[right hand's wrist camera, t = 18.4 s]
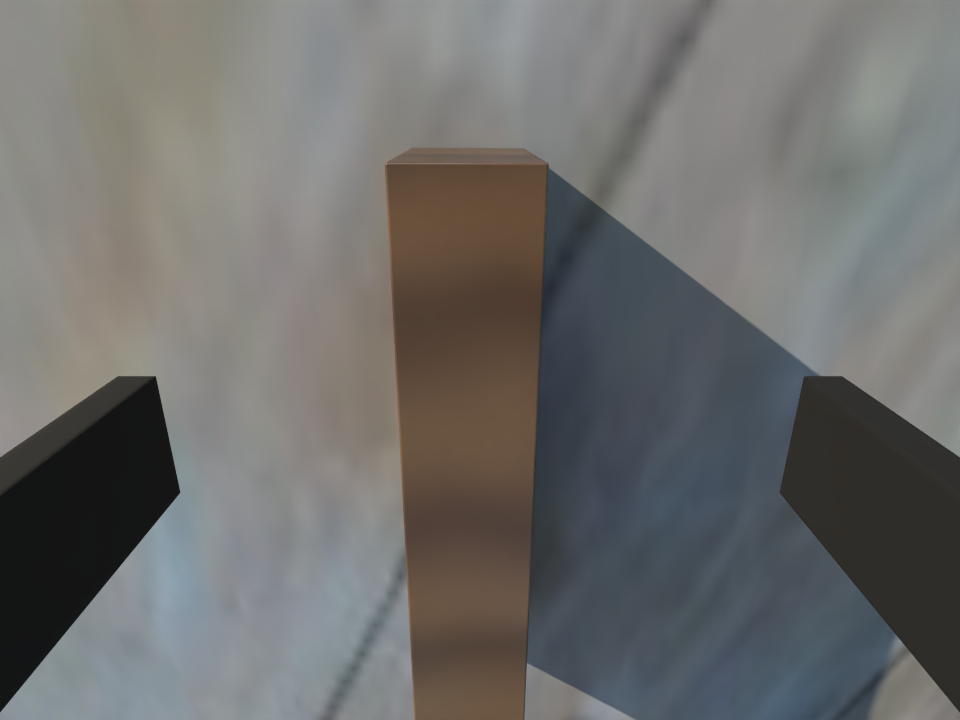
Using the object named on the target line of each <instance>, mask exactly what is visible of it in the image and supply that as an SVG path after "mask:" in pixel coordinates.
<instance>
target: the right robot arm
mask: <svg viewBox="0 0 960 720" xmlns="http://www.w3.org/2000/svg"><path fill="white" fill-rule="evenodd" d="M179 494H180V489H179V484H178V479H177V475H176V470H175V465H174V461H173V456H172V451H171V446H170V442H169V437H168V432H167V427H166V423H165V418H164V413H163V408H162V404H161V399H160V394H159V390H158V385H157V380H156V376H118V377H116V378H115V379H113V380H112V381H110V382H109V383H108V384H106V385H105V386H103V387H102V388H100V389H99V390H97V391H96V392H95V393H93V394H92V395H90V396H89V397H87V398H86V399H84V400H83V401H81V402H80V403H79V404H77V405H76V406H74V407H73V408H71V409H70V410H68V411H67V412H65V413H64V414H63V415H61V416H60V417H58V418H57V419H55V420H54V421H52V422H51V423H50V424H48V425H47V426H45V427H44V428H42V429H41V430H39V431H38V432H36V433H35V434H34V435H32V436H31V437H29V438H28V439H26V440H25V441H23V442H22V443H20V444H19V445H18V446H16V447H15V448H13V449H12V450H10V451H9V452H7V453H6V454H5V455H3V456H2V457H0V712H1V711H2V709H3V708H4V707H5V706H6V705H7V703H8V702H9V701H10V700H11V698H12V697H13V696H14V695H15V694H16V692H17V691H18V690H19V689H20V687H21V686H22V685H23V684H24V683H25V681H26V680H27V679H28V678H29V676H30V675H31V674H32V673H33V672H34V670H35V669H36V668H37V667H38V666H39V664H40V663H41V662H42V661H43V659H44V658H45V657H46V656H47V655H48V653H49V652H50V651H51V650H52V648H53V647H54V646H55V645H56V644H57V642H58V641H59V640H60V639H61V637H62V636H63V635H64V634H65V633H66V631H67V630H68V629H69V628H70V626H71V625H72V624H73V623H74V622H75V620H76V619H77V618H78V617H79V616H80V614H81V613H82V612H83V611H84V609H85V608H86V607H87V606H88V605H89V603H90V602H91V601H92V600H93V598H94V597H95V596H96V595H97V594H98V592H99V591H100V590H101V589H102V587H103V586H104V585H105V584H106V583H107V581H108V580H109V579H110V578H111V576H112V575H113V574H114V573H115V572H116V570H117V569H118V568H119V567H120V565H121V564H122V563H123V562H124V561H125V559H126V558H127V557H128V556H129V555H130V553H131V552H132V551H133V550H134V548H135V547H136V546H137V545H138V544H139V542H140V541H141V540H142V539H143V537H144V536H145V535H146V534H147V533H148V531H149V530H150V529H151V528H152V526H153V525H154V524H155V523H156V522H157V520H158V519H159V518H160V517H161V515H162V514H163V513H164V512H165V511H166V509H167V508H168V507H169V506H170V504H171V503H172V502H173V501H174V500H175V498H176V497H177V496H178V495H179ZM780 494H781V495H782V496H783V497H784V498H785V500H786V501H787V502H788V503H789V504H790V506H791V507H792V508H793V509H794V511H795V512H796V513H797V514H798V515H799V517H800V518H801V519H802V520H803V522H804V523H805V524H806V525H807V526H808V528H809V529H810V530H811V531H812V533H813V534H814V535H815V536H816V537H817V539H818V540H819V541H820V542H821V544H822V545H823V546H824V547H825V548H826V550H827V551H828V552H829V553H830V555H831V556H832V557H833V558H834V559H835V561H836V562H837V563H838V564H839V565H840V567H841V568H842V569H843V570H844V572H845V573H846V574H847V575H848V576H849V578H850V579H851V580H852V581H853V583H854V584H855V585H856V586H857V587H858V589H859V590H860V591H861V592H862V594H863V595H864V596H865V597H866V598H867V600H868V601H869V602H870V603H871V605H872V606H873V607H874V608H875V609H876V611H877V612H878V613H879V614H880V615H881V617H882V618H883V619H884V620H885V622H886V623H887V624H888V625H889V626H890V628H891V629H892V630H893V631H894V633H895V634H896V635H897V636H898V637H899V639H900V640H901V641H902V642H903V644H904V645H905V646H906V647H907V648H908V650H909V651H910V652H911V653H912V655H913V656H914V657H915V658H916V659H917V661H918V662H919V663H920V664H921V666H922V667H923V668H924V669H925V670H926V672H927V673H928V674H929V675H930V676H931V678H932V679H933V680H934V681H935V683H936V684H937V685H938V686H939V687H940V689H941V690H942V691H943V692H944V694H945V695H946V696H947V697H948V698H949V700H950V701H951V702H952V703H953V705H954V706H955V707H956V708H957V709H958V711H959V712H960V457H958V456H957V455H955V454H954V453H953V452H951V451H950V450H948V449H947V448H945V447H944V446H942V445H941V444H940V443H938V442H937V441H935V440H934V439H932V438H931V437H929V436H928V435H926V434H925V433H924V432H922V431H921V430H919V429H918V428H916V427H915V426H913V425H912V424H910V423H909V422H908V421H906V420H905V419H903V418H902V417H900V416H899V415H897V414H896V413H895V412H893V411H892V410H890V409H889V408H887V407H886V406H884V405H883V404H881V403H880V402H879V401H877V400H876V399H874V398H873V397H871V396H870V395H868V394H867V393H865V392H864V391H863V390H861V389H860V388H858V387H857V386H855V385H854V384H852V383H851V382H850V381H848V380H847V379H845V378H844V377H842V376H804V380H803V385H802V390H801V394H800V399H799V404H798V408H797V413H796V418H795V423H794V427H793V432H792V437H791V442H790V446H789V451H788V456H787V461H786V465H785V470H784V475H783V479H782V484H781V489H780Z"/></svg>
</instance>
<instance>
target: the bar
mask: <svg viewBox="0 0 960 720" xmlns="http://www.w3.org/2000/svg"><path fill="white" fill-rule="evenodd" d="M548 167H549V165H548V163H547V162H545V161H543V160H542V159H540V158H538V157H537V156H535V155H533V154H532V153H530V152H528V151H527V150H525V149H461V148H412V149H410V150H408V151H406V152H405V153H403V154H401V155H399V156H397V157H396V158H394V159H392V160H390V161H388V162H387V163H385V174H386V193H387V212H388V230H389V249H390V268H391V286H392V305H393V324H394V342H395V361H396V380H397V398H398V417H399V436H400V454H401V473H402V492H403V510H404V529H405V548H406V566H407V585H408V604H409V622H410V641H411V660H412V678H413V697H414V716H415V720H524V714H525V691H526V668H527V645H528V623H529V600H530V577H531V554H532V532H533V509H534V486H535V463H536V440H537V418H538V395H539V372H540V349H541V326H542V304H543V281H544V258H545V235H546V212H547V190H548Z"/></svg>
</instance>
